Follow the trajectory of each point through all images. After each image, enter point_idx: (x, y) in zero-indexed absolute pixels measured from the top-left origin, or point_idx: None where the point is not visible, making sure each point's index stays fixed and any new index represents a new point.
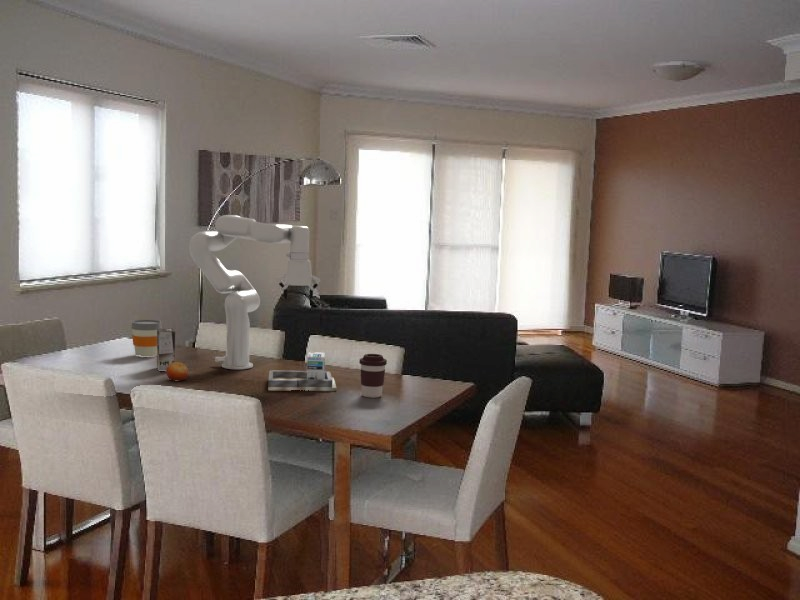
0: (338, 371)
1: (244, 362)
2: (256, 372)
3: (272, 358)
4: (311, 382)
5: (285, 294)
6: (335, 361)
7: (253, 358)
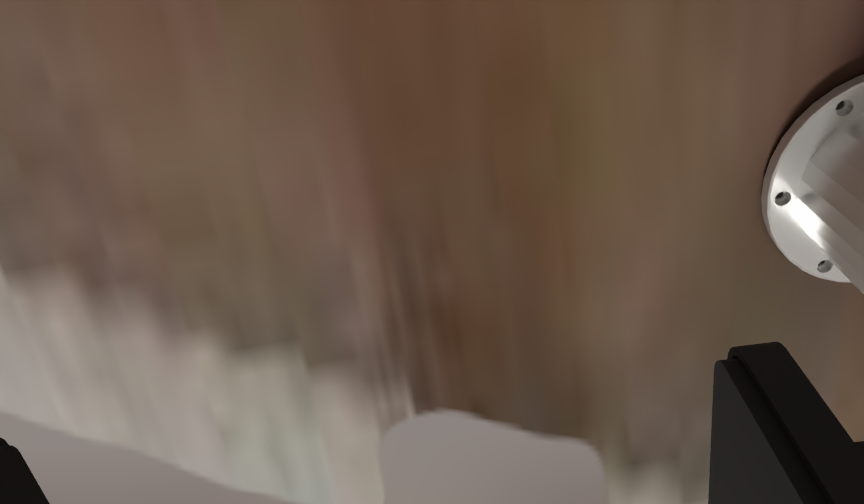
0: (122, 174)
1: (851, 137)
2: (734, 5)
3: (627, 461)
4: None
5: (853, 457)
6: (230, 456)
7: None
